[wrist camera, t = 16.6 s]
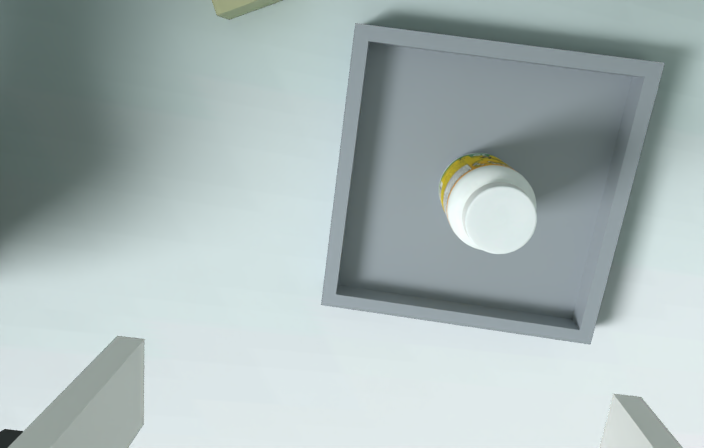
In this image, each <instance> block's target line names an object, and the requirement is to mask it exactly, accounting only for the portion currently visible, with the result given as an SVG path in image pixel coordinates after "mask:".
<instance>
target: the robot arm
mask: <svg viewBox="0 0 704 448" xmlns="http://www.w3.org/2000/svg"><path fill="white" fill-rule="evenodd" d="M143 424H144V339H139V338H131V337H122V336H117V337H116V338H115V339H114V340H113V341H112V342H111V343H110V344H109V345H108V346H107V347H106V348H105V349H104V350H103V351H102V352H101V353H100V354H99V355H98V356H97V357H96V358H95V359H94V360H93V361H92V362H91V363H90V364H89V365H88V366H87V367H86V368H85V369H84V370H83V371H82V372H81V373H80V374H79V375H78V376H77V377H76V378H75V380H74V381H73V382H72V383H71V384H70V385H69V386H68V387H67V388H66V389H65V390H64V391H63V392H62V393H61V394H60V395H59V396H58V397H57V398H56V399H55V400H54V401H53V402H52V403H51V404H50V405H49V406H48V407H47V408H46V409H45V410H44V411H43V412H42V413H41V414H40V415H39V416H38V417H37V418H36V419H35V420H34V421H33V422H32V423H31V424H30V425H29V426H28V427H27V428H26V429H25V430H24V431H17V430H8V429H4V430H2V431H1V432H0V448H128V447H129V446H130V444H131V443H132V441H133V440H134V438H135V437H136V435H137V434H138V432H139V431H140V429H141V428H142V426H143ZM599 448H683V447H682V446H681V445H680V444H679V443H678V441H677V440H676V439H675V438H674V436H673V435H672V434H671V433H670V432H669V430H668V429H667V428H666V427H665V426H664V424H663V423H662V422H661V421H660V419H659V418H658V417H657V416H656V415H655V413H654V412H653V411H652V410H651V409H650V407H649V406H648V405H647V404H646V402H645V401H644V400H643V399H642V398H641V397H637V396H628V395H620V394H613V397H612V401H611V405H610V408H609V412H608V416H607V420H606V424H605V427H604V431H603V435H602V439H601V443H600V446H599Z"/></svg>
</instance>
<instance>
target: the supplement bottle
mask: <svg viewBox="0 0 704 448" xmlns="http://www.w3.org/2000/svg"><path fill="white" fill-rule="evenodd" d="M439 198H440V202H441V205H442V207H443V210H444V212H445V214H446V217H447V219H448V221H449V224H450V226H451V228H452V230H453V231H454V233H455V234H456V235H457V236H458V238H459V239H460V240H462V241H463V242H464V243H466V244H467V245H469V246H471V247H473V248H476V249H479V250H483V251H486V252H488V253H492V254H506V253H510V252H513V251H516V250H517V249H519V248H521V247H522V246H524V245H525V244H526V243H527V242H528V241H529V239H530V238H531V236H532V235H533V233H534V231H535V228H536V224H537V213H536V208H537V206H536V198H535V194H534V192H533V189H532V187H531V186H530V184H529V183H528V181H527V180H526V179H525V178H524V177H523V176H522V175H521V174H520V173H518V172H517V171H515V170H514V169H512V168H511V167H510V166H508V165H507V164H506V163H504V162H503V161H502V160H500V159H499V158H497V157H495V156H493V155H490V154H486V153H470V154H465V155H462V156H460V157H458V158H456V159H455V160H454V161H452V162H451V163H450V164H449V165H448V166H447V168H446V169H445V170H444V172H443V174H442V176H441V179H440V182H439Z"/></svg>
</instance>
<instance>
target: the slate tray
mask: <svg viewBox="0 0 704 448" xmlns="http://www.w3.org/2000/svg"><path fill="white" fill-rule="evenodd" d="M664 64H665V63H662V62H654V61H646V60H638V59H631V58H623V57H615V56H607V55H600V54H592V53H584V52H576V51H568V50H561V49H553V48H545V47H537V46H529V45H522V44H514V43H506V42H498V41H490V40H483V39H475V38H467V37H459V36H451V35H444V34H436V33H428V32H420V31H412V30H405V29H397V28H389V27H381V26H374V25H366V24H358V23H355V30H354V38H353V47H352V55H351V63H350V71H349V79H348V88H347V96H346V104H345V112H344V121H343V129H342V137H341V145H340V154H339V162H338V170H337V178H336V187H335V195H334V203H333V211H332V220H331V228H330V236H329V244H328V253H327V261H326V269H325V277H324V285H323V294H322V302H321V305H325V306H332V307H339V308H346V309H353V310H359V311H366V312H373V313H380V314H387V315H393V316H400V317H407V318H414V319H420V320H427V321H434V322H441V323H448V324H454V325H461V326H468V327H475V328H482V329H488V330H495V331H502V332H509V333H516V334H522V335H529V336H536V337H543V338H550V339H556V340H563V341H570V342H577V343H584V344H591V340H592V337H593V333H594V329H595V325H596V321H597V318H598V314H599V310H600V306H601V302H602V299H603V295H604V291H605V287H606V284H607V280H608V276H609V272H610V268H611V265H612V261H613V257H614V253H615V249H616V246H617V242H618V238H619V234H620V230H621V227H622V223H623V219H624V215H625V212H626V208H627V204H628V200H629V196H630V193H631V189H632V185H633V181H634V177H635V174H636V170H637V166H638V162H639V158H640V155H641V151H642V147H643V143H644V139H645V136H646V132H647V128H648V124H649V121H650V117H651V113H652V109H653V105H654V102H655V98H656V94H657V90H658V86H659V83H660V79H661V75H662V71H663V67H664ZM470 153H486V154H490V155H493V156H495V157H497V158H499V159H500V160H502V161H503V162H504V163H506V164H507V165H508V166H510V167H511V168H512V169H514V170H515V171H517V172H518V173H520V174H521V175H522V176H523V177H524V178H525V179H526V180H527V181H528V183H529V184H530V186H531V187H532V189H533V192H534V194H535V198H536V206H537V208H536V213H537V224H536V228H535V231H534V233H533V235H532V236H531V238H530V239H529V241H528V242H527V243H526V244H525V245H524V246H522V247H521V248H519V249H517V250H516V251H513V252H510V253H506V254H492V253H488V252H486V251H483V250H479V249H476V248H473V247H471V246H469V245H467V244H466V243H464V242H463V241H462V240H460V239H459V238H458V236H457V235H456V234H455V233H454V231H453V230H452V228H451V226H450V224H449V221H448V219H447V217H446V214H445V212H444V210H443V207H442V205H441V202H440V198H439V182H440V179H441V176H442V174H443V172H444V170H445V169H446V168H447V166H448V165H449V164H450V163H451V162H452V161H454V160H455V159H456V158H458V157H460V156H462V155H465V154H470Z"/></svg>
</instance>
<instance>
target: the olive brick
mask: <svg viewBox="0 0 704 448" xmlns="http://www.w3.org/2000/svg"><path fill="white" fill-rule="evenodd" d="M279 1H282V0H212V3H213V5H214V8H215V11H216V14H217V15H218V16H220V17H223V18H226V19H229V20H230V19H232V18H235V17H238V16H241V15H244V14H246V13H249V12H252V11H255V10H257V9H260V8H263V7H266V6H268V5H271V4H274V3H277V2H279Z"/></svg>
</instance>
